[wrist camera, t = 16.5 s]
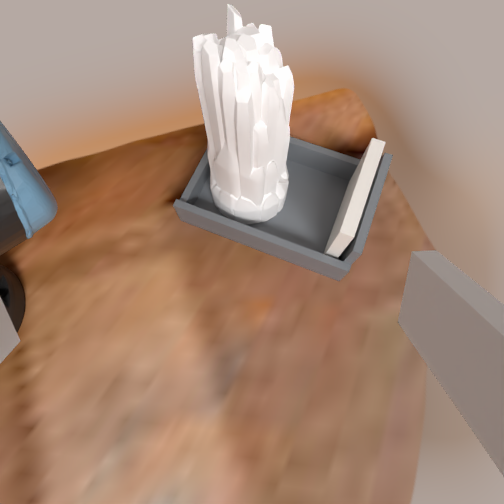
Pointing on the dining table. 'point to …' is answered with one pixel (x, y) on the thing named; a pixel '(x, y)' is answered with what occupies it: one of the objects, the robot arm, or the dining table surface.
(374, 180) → the grey tray
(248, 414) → the dining table surface
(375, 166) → the plate
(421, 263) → the robot arm
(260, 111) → the decorative vase
